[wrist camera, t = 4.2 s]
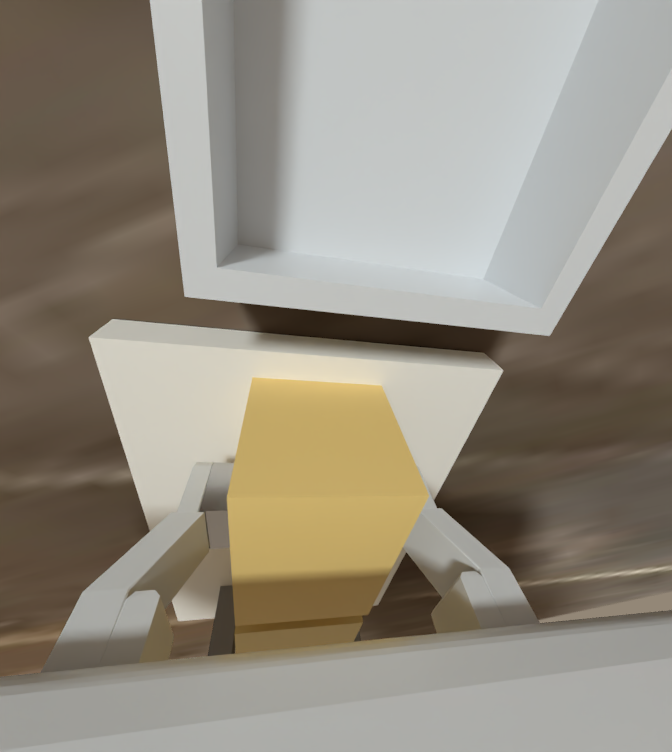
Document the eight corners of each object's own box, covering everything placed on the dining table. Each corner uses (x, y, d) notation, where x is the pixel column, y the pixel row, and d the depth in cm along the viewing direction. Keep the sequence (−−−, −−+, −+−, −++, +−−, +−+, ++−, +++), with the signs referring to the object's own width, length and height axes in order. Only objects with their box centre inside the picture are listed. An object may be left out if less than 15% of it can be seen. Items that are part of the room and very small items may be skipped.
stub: (381, 385, 9) (429, 495, 6) (348, 500, 13) (367, 614, 9) (252, 377, 9) (226, 497, 5) (251, 501, 12) (235, 626, 9)
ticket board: (483, 352, 11) (660, 511, 6) (373, 584, 20) (400, 722, 15) (112, 318, 8) (-167, 529, 3) (184, 596, 18) (140, 763, 13)
